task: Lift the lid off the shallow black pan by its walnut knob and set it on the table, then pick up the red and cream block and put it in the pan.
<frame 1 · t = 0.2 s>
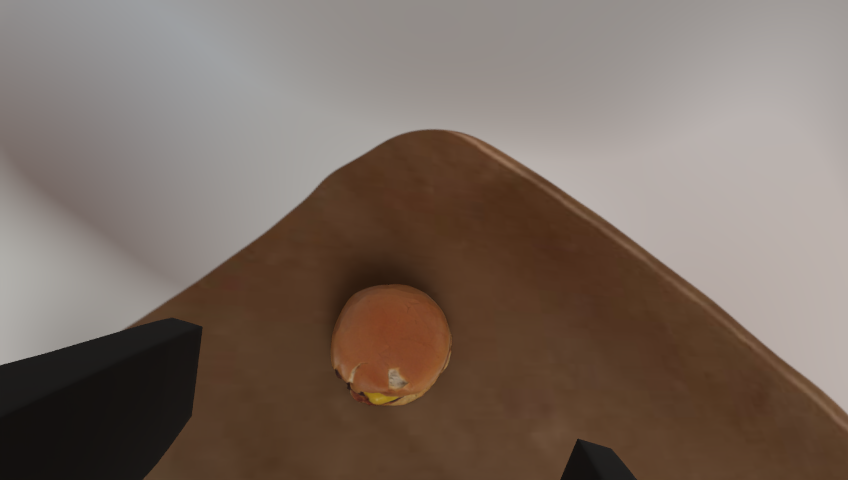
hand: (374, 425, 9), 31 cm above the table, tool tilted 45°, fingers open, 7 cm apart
burger: (391, 350, 41), on the table
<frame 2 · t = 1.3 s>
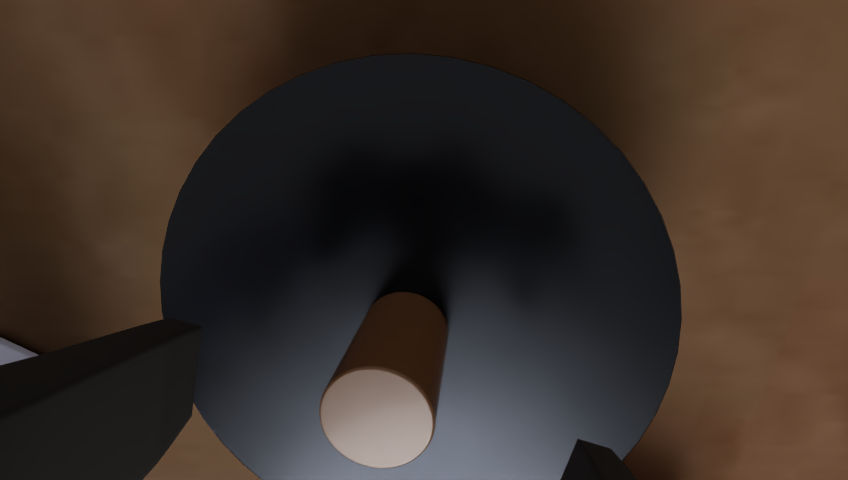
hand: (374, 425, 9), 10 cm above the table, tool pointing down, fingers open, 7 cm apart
pan lid: (408, 323, 14), point 4 cm above the table, touching pan
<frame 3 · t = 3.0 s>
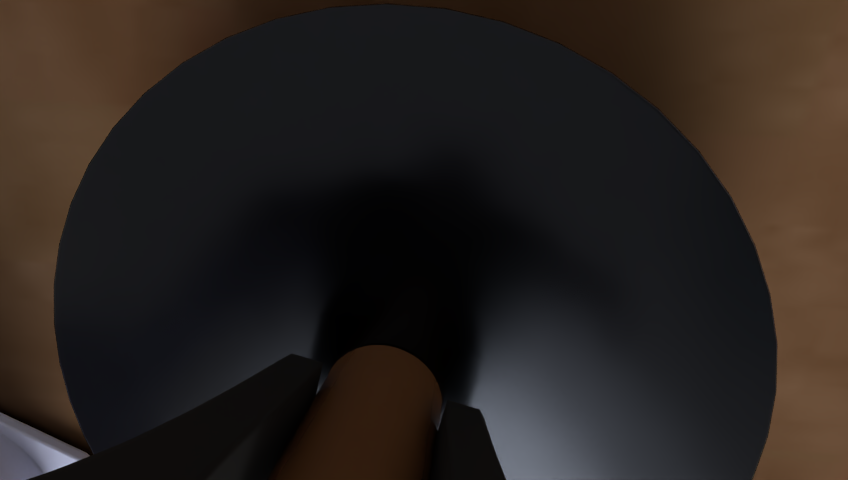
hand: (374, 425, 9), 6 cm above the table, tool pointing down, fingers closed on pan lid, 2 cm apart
pan lid: (388, 383, 10), point 4 cm above the table, touching gripper, pan
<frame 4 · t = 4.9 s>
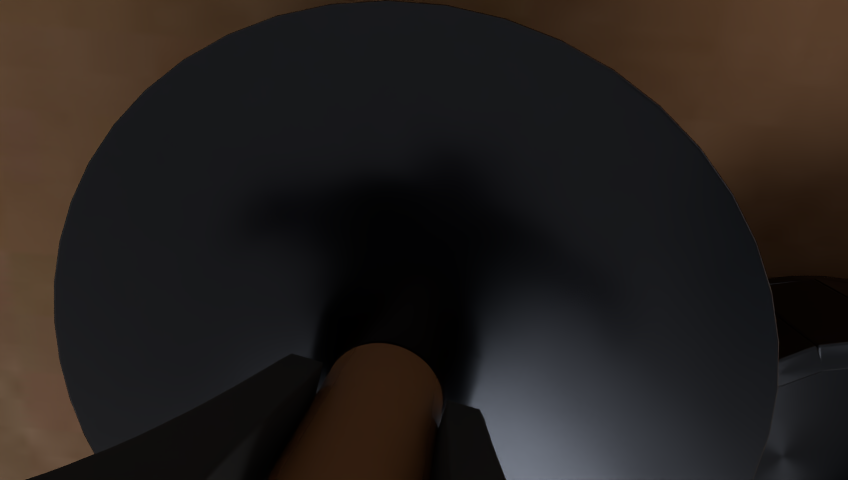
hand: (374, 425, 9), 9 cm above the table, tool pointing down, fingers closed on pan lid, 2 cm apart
pan lid: (389, 381, 10), point 8 cm above the table, touching gripper
pan: (774, 446, 18), on the table
when the fingers open (2 cm above the table, at t = 7.1 s): pan lid stays where it is, point 1 cm above the table.
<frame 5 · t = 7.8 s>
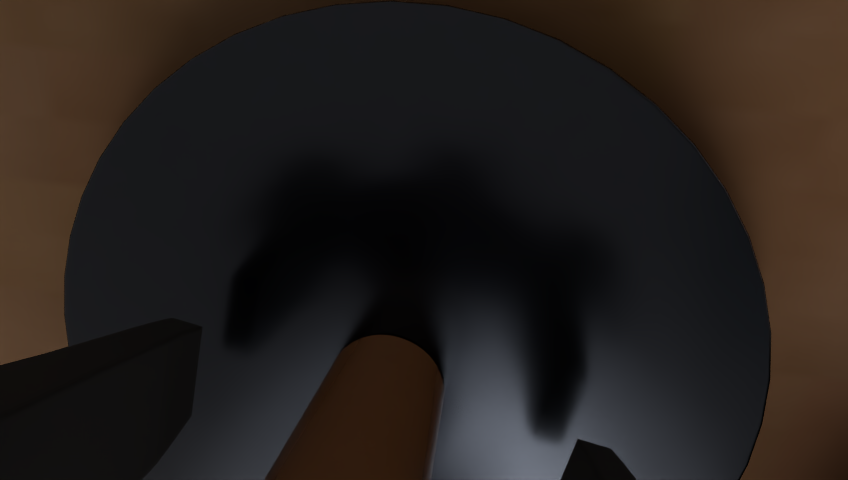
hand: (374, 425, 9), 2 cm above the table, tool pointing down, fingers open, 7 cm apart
pan lid: (391, 373, 11), point 1 cm above the table
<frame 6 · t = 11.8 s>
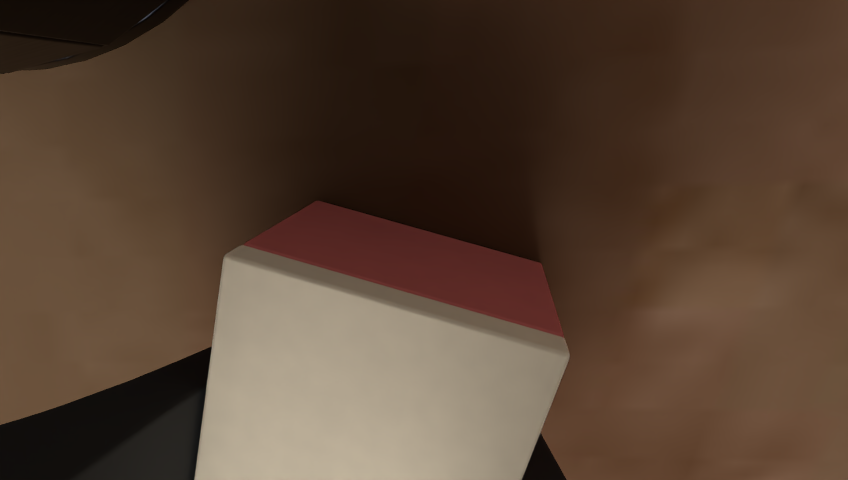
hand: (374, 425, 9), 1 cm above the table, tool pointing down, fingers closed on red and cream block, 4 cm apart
red and cream block: (387, 383, 10), on the table, touching gripper
when the fingers open (2 cm above the table, at t = 16.8 s): red and cream block stays where it is, resting on pan.
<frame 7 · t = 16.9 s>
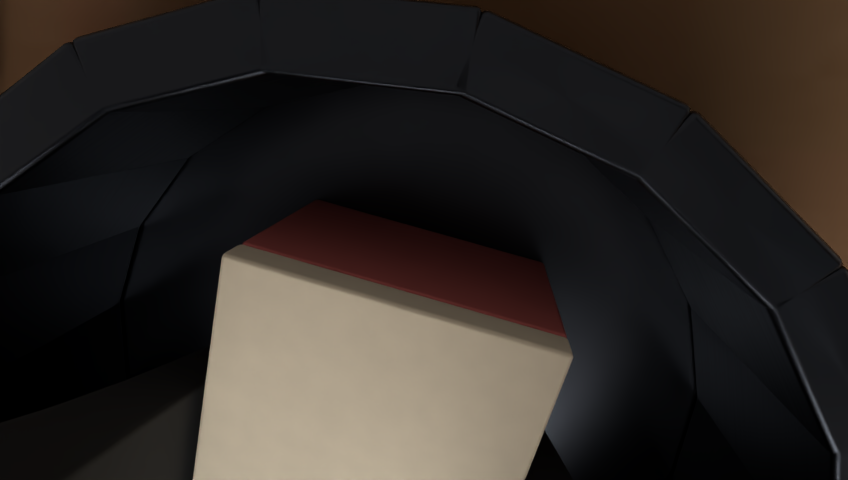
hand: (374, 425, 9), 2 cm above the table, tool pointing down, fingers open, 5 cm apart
red and cream block: (388, 383, 10), point 1 cm above the table, touching pan
pan: (393, 373, 11), on the table
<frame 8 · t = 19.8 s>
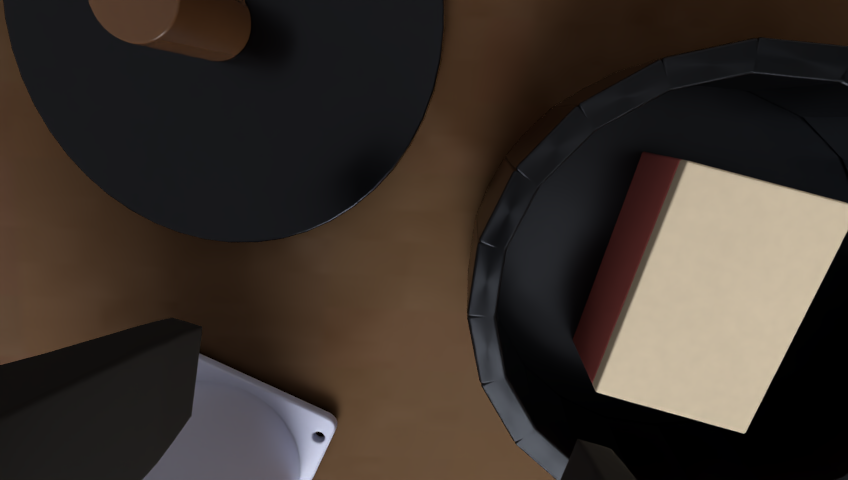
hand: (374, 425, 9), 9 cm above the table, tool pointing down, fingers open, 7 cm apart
red and cream block: (668, 268, 17), point 1 cm above the table, touching pan
pan lid: (223, 24, 16), point 1 cm above the table
pan: (663, 265, 17), on the table
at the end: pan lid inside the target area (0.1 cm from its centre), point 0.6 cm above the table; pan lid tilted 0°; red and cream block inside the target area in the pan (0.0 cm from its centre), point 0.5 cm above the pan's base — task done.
